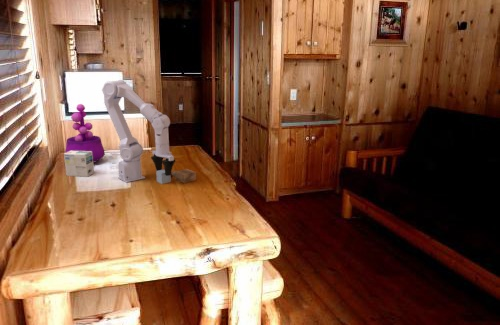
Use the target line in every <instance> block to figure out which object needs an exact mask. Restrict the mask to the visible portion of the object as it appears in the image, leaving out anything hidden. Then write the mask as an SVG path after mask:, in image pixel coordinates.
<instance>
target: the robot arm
mask: <svg viewBox="0 0 500 325" xmlns="http://www.w3.org/2000/svg"><path fill="white" fill-rule="evenodd" d="M101 91H102V94H103V100H104V101H103V102H104V103H103V104H104V106H105V108H106V110H107V112H108V115H109V118H110V119H111V122H112V124H113V126H114V128H115V131H116V134H117V136H118V138H119V140H120V142H119V145H118V148H119V155H120V157H121V159H122V160H121V161H119V162H118V164H117V166H118V168H117V169H118V179H119V180H121V181H123V182H125V183H129V182H134V181H139V180H143V179H144V180H145V179H146V177H145V176H144V175H142V161H141V159H142V158H141V156H142V155H143V153H144V148H143V146H142V144H140V142H139V140H138V139H137V138H136V137H134V136H133V134H132V131H131V129H130V128H129V125H128V123H127V120H126V119H125V115H124V113H123V111H122V108H121V106H120V104H119V103H120V101H121V99H122V98H126V99H127V100H128V101H129V102H130V103H132V104H133V105H134V106H135V107H136V108H138V109H139V110H140V111H139V113H140V114H141V115H142V116H143V117H144V118H146V119H147V121H149V123H151V126H152V129H153V130H154V139H155V140H154V142H155V149H154V150H152V151H151V152H152V156H151V157H150V159H151V161H152V162H153V164H154V167H155V171H158V170H163V168H164V169H165V174H166V176H168V175H171V176H172V172H173V166H174V165H175V163H176V159H175V158H174V155H172V151H170V140H169V127H170V125H171V120H170V117H169V116H168V115H167V114H163V113H162V112H160V111H159V110H158V109H157V108H156V107H155V105H154V104H152V103H150V102H149V103H146V102H145V101H144V100H143V99H142V98H141V97H140V96H139V95H138V94H137V92H135V91H134V90H133V89H132V87H131V86H130V85H129V84H128V83H127V82H126V81H125V80H123V79H119V80H112V81H111V80H110V81H109V80H108V81H106V82H104V84H103V87H102V89H101Z"/></svg>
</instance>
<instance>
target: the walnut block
mask: <svg viewBox="0 0 500 325" xmlns="http://www.w3.org/2000/svg"><path fill="white" fill-rule="evenodd" d="M175 171H176V172H175V175H176V176H175V180H176V181H178V182H181V183H183V184H186V183H190V182H194V181H196V180H197V172H196V171H194V170H192V169H191V170H190V169H188V168H185V169H181V170H175Z"/></svg>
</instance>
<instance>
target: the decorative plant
mask: <svg viewBox="0 0 500 325" xmlns="http://www.w3.org/2000/svg"><path fill="white" fill-rule="evenodd" d="M85 109H86V107H85V105H84V104H83V103H79V104H77V105H76V111H78V112H74V113H72V114H71V120H72V121H73V122H74V123H73V124H72V128H73V129H74V130H75V131H78V132H79V133H78V134H77V135H76V136H71V137H68V138H67V139H66V144H65V151H64V153H67V152H69V151H71V150H72V151H92V155H93V163H95V162H98V161H100V160H102V159H103V158H104V156H105V155H106V153H105V148H104V146H103V143H102V139H101V137H100V136H99V135H93V134H94V133H93V132H92V131H91V130H92V129H93V126H94V125H93V124H92V123H91V122H86V123H85V119H84V118H85V117H86V116H87V113H86V112H85Z"/></svg>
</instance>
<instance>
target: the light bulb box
mask: <svg viewBox="0 0 500 325" xmlns="http://www.w3.org/2000/svg"><path fill="white" fill-rule="evenodd" d="M63 159H64V164H65V165H64V166H65V167H64V168H65V175H66V177H85V178H87V177H89V176H91V175H93V174H95V166H94V162H93V155H92V151H72V150H71V151H69V152H67V153H65V152H64V153H63Z"/></svg>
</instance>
